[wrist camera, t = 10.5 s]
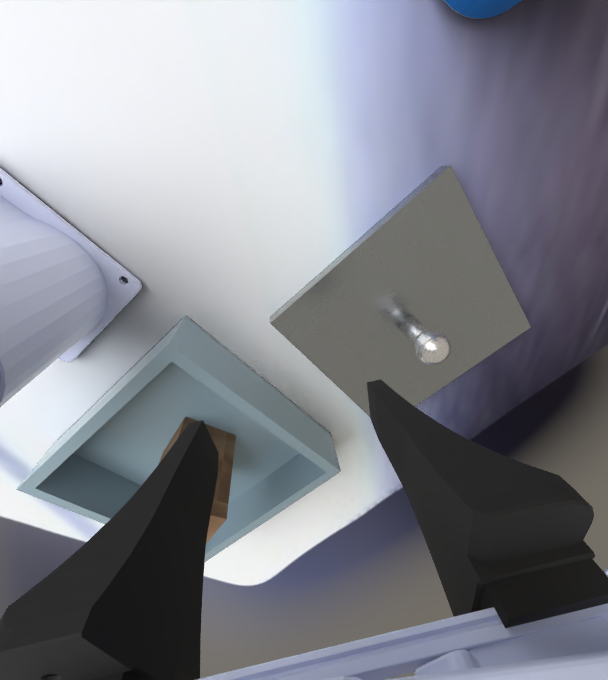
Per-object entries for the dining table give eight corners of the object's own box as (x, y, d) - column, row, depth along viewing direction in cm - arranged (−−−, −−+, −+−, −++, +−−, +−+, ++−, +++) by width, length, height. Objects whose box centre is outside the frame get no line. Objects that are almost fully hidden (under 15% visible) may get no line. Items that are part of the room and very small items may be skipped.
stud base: (270, 317, 21) (271, 356, 16) (441, 166, 17) (505, 159, 13) (378, 420, 26) (402, 470, 22) (520, 321, 23) (584, 356, 19)
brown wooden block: (162, 452, 24) (128, 542, 18) (185, 416, 23) (156, 501, 17) (212, 467, 26) (196, 555, 20) (235, 435, 24) (226, 519, 18)
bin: (53, 443, 23) (16, 489, 20) (185, 315, 20) (168, 343, 16) (210, 518, 30) (203, 562, 27) (330, 433, 27) (340, 471, 23)
